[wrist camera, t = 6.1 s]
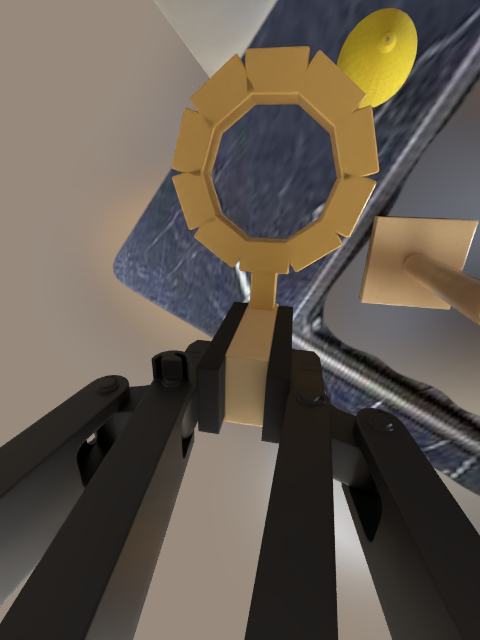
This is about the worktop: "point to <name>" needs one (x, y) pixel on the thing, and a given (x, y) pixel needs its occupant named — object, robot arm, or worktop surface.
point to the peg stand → (421, 264)
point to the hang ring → (265, 253)
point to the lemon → (379, 54)
